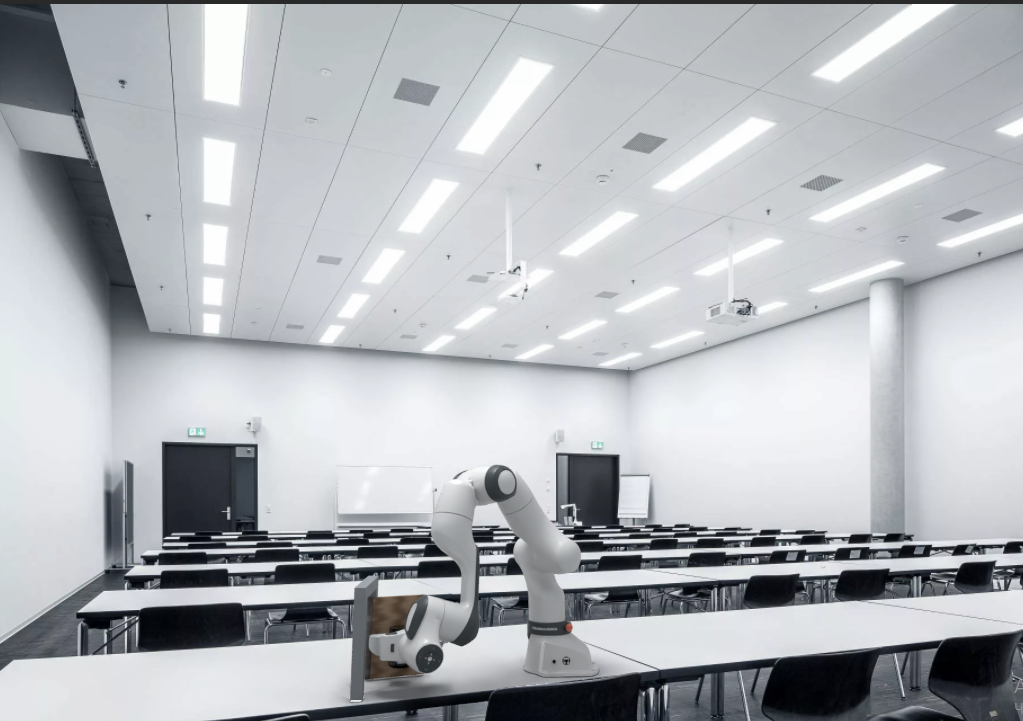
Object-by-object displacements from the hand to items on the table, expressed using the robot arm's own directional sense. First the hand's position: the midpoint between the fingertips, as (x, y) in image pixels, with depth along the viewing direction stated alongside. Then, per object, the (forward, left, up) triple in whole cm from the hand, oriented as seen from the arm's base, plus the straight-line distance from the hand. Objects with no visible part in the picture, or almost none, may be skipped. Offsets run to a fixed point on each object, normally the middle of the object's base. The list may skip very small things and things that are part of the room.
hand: (400, 635), depth 194 cm
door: (+2, -3, -12) cm, 13 cm away
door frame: (+8, +7, -12) cm, 17 cm away
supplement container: (0, +1, -8) cm, 8 cm away
